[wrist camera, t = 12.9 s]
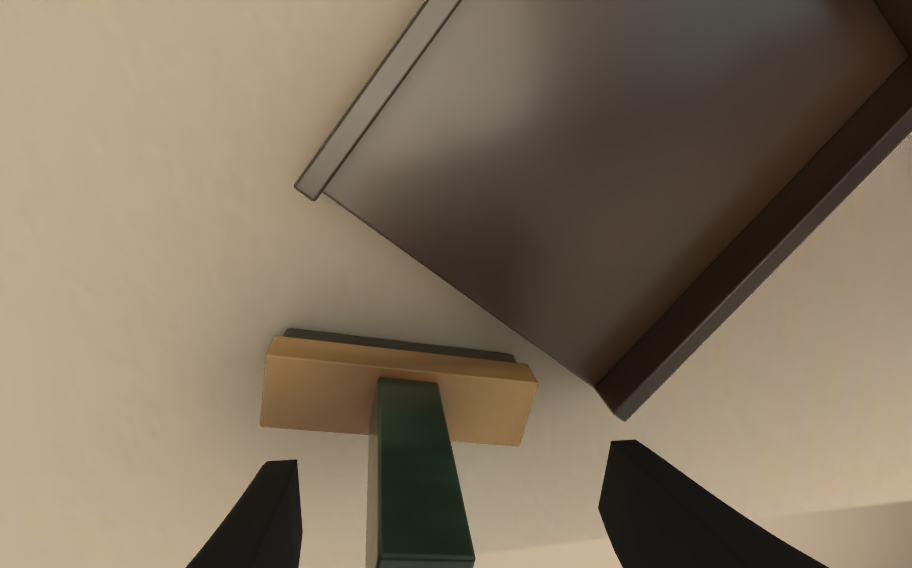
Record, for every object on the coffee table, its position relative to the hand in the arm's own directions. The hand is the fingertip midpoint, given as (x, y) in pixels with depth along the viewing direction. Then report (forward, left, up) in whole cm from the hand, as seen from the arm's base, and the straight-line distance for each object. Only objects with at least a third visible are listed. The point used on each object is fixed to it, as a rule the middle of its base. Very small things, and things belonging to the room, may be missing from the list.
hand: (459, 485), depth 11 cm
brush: (+1, +1, -6) cm, 6 cm away
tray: (+1, -10, -6) cm, 11 cm away
